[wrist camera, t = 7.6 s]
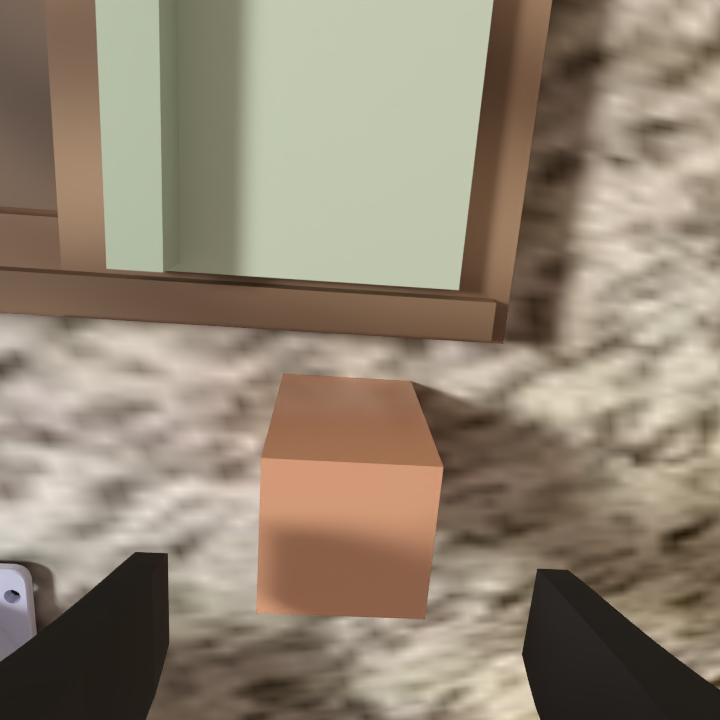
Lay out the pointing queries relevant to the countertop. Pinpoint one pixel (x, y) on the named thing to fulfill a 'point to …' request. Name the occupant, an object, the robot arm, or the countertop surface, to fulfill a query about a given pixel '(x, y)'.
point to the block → (347, 500)
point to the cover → (291, 136)
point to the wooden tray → (217, 291)
